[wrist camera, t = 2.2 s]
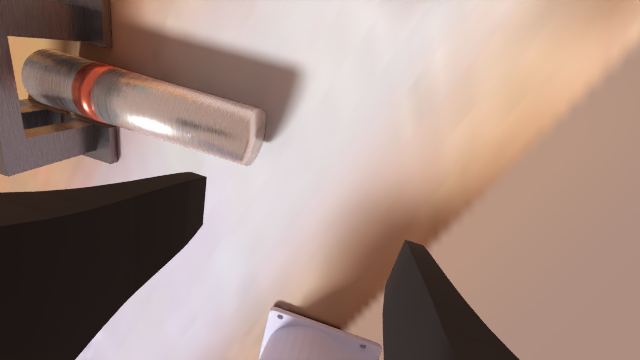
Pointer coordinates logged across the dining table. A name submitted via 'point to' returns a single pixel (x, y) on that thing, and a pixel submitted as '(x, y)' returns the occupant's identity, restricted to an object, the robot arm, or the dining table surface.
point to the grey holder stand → (77, 132)
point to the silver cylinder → (146, 105)
